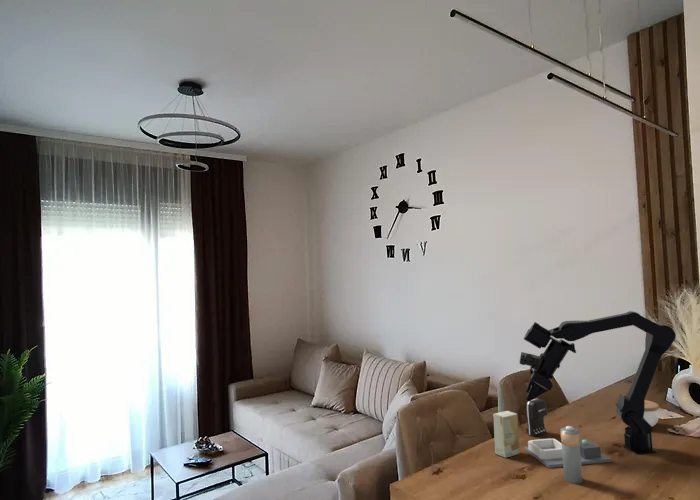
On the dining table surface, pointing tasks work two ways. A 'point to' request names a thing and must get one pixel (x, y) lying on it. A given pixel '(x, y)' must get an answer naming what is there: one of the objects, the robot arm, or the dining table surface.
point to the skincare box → (506, 434)
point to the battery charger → (536, 417)
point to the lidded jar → (651, 412)
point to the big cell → (571, 454)
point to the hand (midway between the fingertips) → (527, 396)
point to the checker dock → (552, 452)
